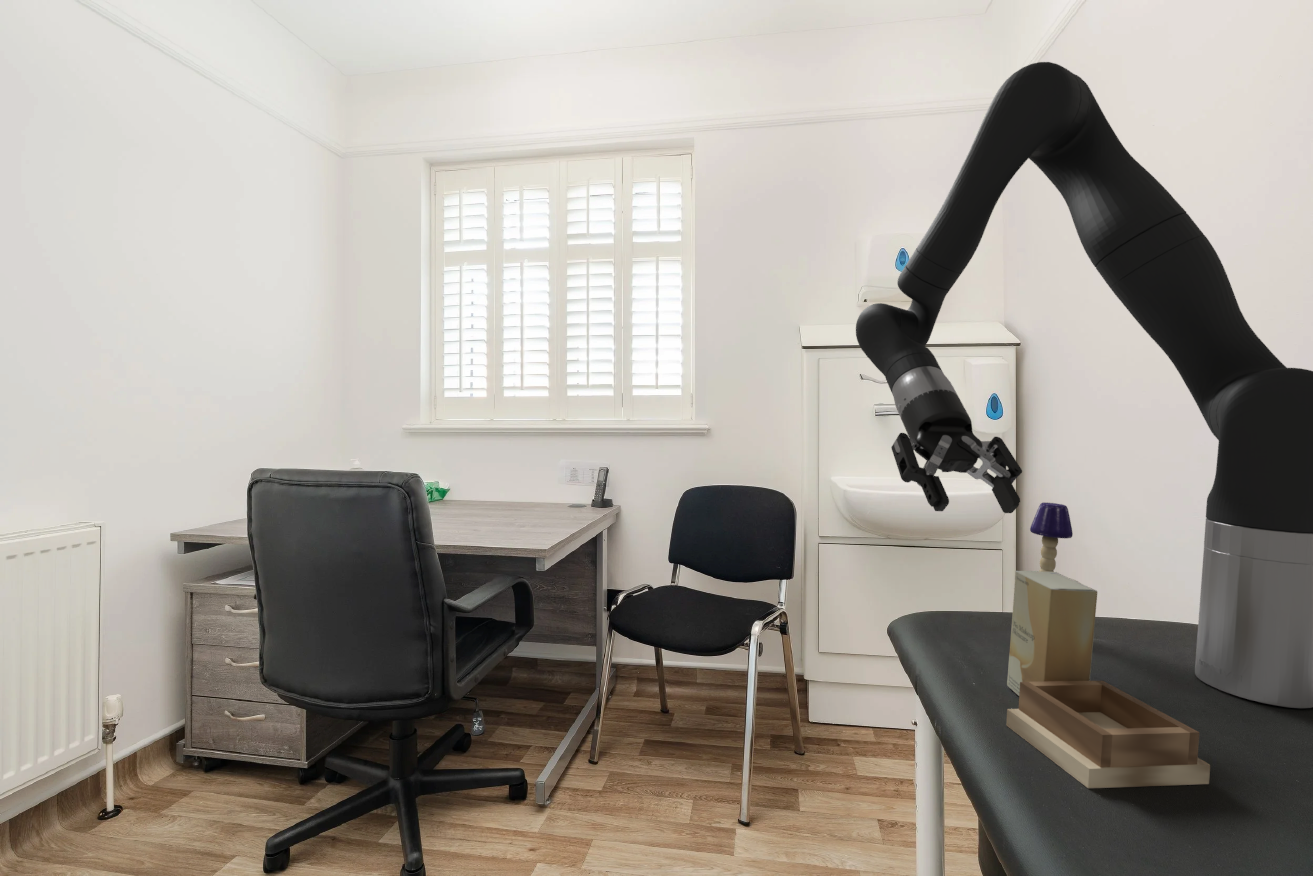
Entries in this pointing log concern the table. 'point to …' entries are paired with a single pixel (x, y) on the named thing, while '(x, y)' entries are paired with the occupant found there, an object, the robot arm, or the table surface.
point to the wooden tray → (1106, 735)
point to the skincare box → (1050, 629)
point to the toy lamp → (1051, 531)
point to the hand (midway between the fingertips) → (978, 508)
